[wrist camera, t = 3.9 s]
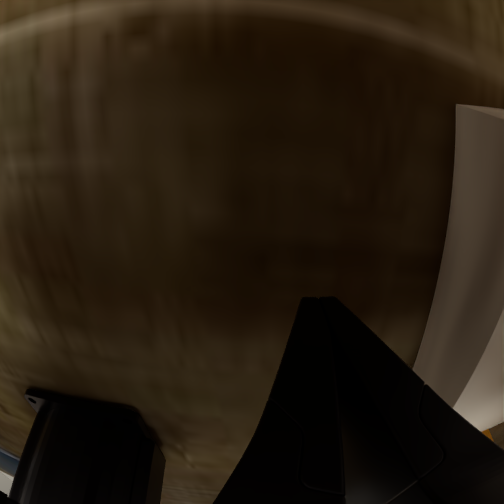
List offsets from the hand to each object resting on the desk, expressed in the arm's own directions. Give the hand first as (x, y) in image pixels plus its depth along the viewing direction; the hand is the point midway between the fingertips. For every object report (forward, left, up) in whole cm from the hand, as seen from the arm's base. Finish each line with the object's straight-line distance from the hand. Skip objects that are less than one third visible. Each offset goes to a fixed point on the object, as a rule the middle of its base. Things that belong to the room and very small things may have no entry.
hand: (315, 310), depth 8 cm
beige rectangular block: (+8, 0, -2) cm, 8 cm away
